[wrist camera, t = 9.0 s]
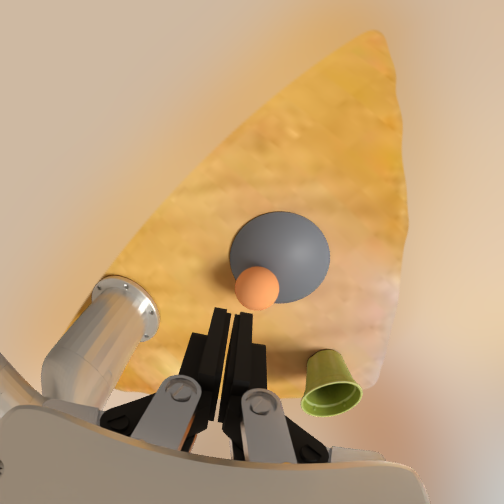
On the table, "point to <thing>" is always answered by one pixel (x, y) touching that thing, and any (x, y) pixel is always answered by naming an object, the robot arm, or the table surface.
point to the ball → (257, 288)
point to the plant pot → (329, 386)
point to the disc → (283, 252)
